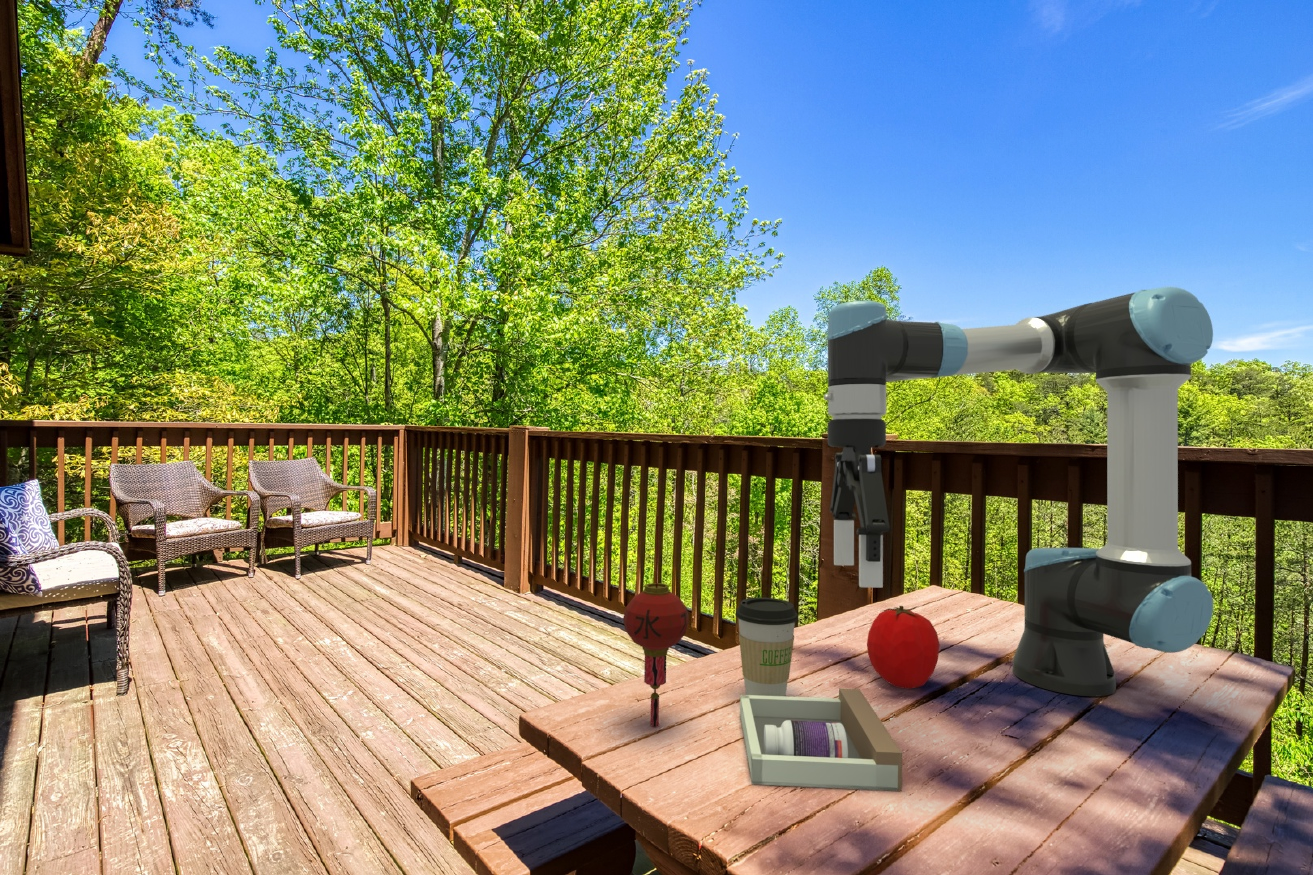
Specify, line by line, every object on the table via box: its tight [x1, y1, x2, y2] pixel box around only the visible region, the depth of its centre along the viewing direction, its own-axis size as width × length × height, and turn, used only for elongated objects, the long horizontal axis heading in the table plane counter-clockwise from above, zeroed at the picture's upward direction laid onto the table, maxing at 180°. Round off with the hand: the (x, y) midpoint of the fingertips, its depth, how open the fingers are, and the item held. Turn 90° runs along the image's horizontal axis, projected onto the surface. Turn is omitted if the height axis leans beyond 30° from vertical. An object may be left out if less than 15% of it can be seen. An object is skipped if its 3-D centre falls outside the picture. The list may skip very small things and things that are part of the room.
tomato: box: [866, 605, 940, 690], centre depth 106 cm, size 12×12×13 cm
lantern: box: [622, 514, 690, 728], centre depth 90 cm, size 10×10×30 cm
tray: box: [739, 687, 903, 792], centre depth 84 cm, size 18×19×4 cm
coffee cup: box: [735, 596, 799, 697], centre depth 100 cm, size 10×10×15 cm
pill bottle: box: [764, 720, 848, 758], centre depth 78 cm, size 5×5×10 cm
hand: (856, 575), depth 85 cm, fingers open, 13 cm apart
